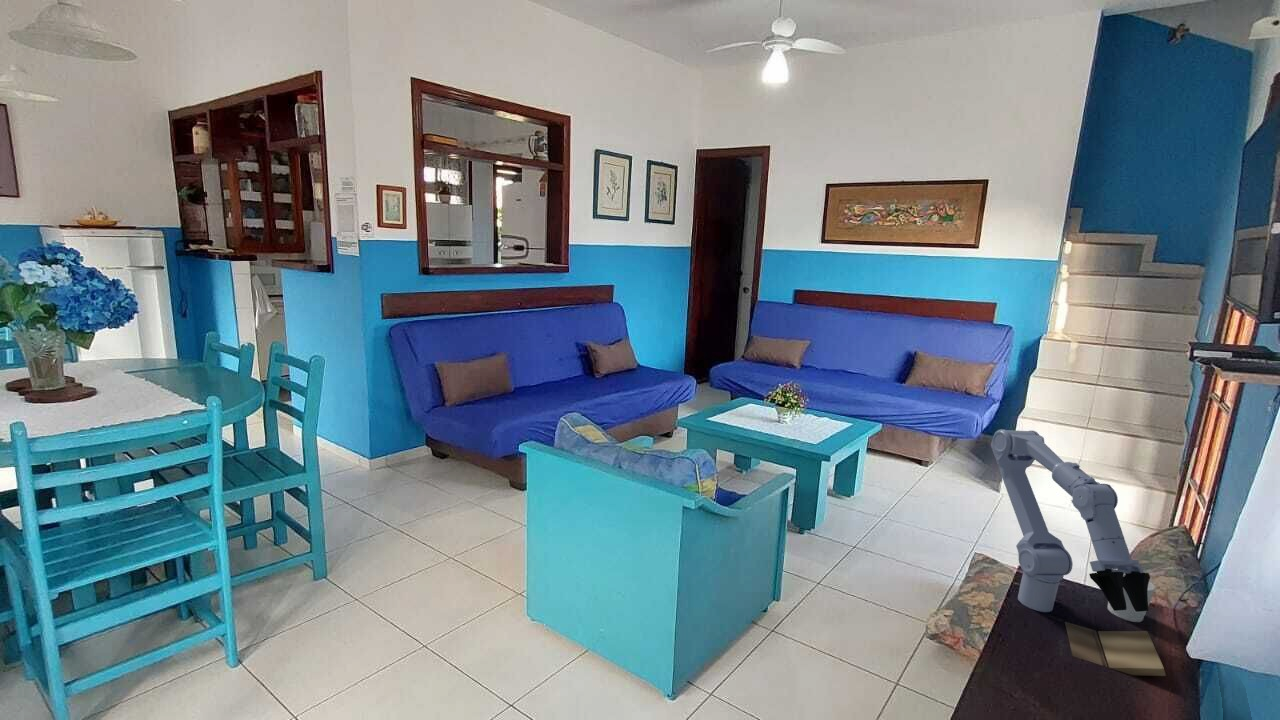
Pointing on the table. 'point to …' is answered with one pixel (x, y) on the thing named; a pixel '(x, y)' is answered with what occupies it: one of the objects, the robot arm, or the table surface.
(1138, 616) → the white cup
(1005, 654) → the table surface
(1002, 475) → the robot arm
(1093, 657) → the walnut board
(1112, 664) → the oak plank
